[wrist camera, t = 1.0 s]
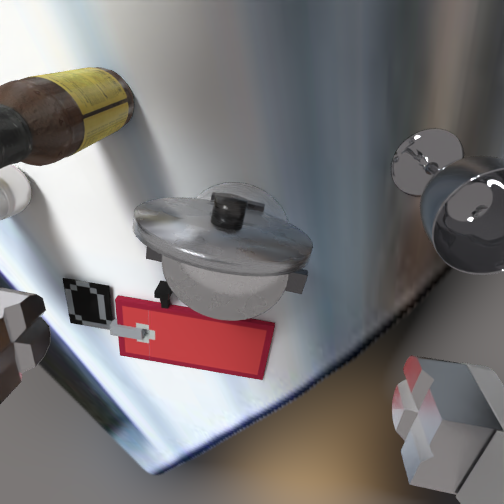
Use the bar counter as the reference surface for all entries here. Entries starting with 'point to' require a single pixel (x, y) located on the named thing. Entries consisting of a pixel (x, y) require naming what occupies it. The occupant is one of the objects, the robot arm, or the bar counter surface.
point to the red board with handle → (172, 330)
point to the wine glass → (455, 199)
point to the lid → (222, 236)
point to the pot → (227, 285)
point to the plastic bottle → (13, 191)
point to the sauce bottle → (60, 114)
